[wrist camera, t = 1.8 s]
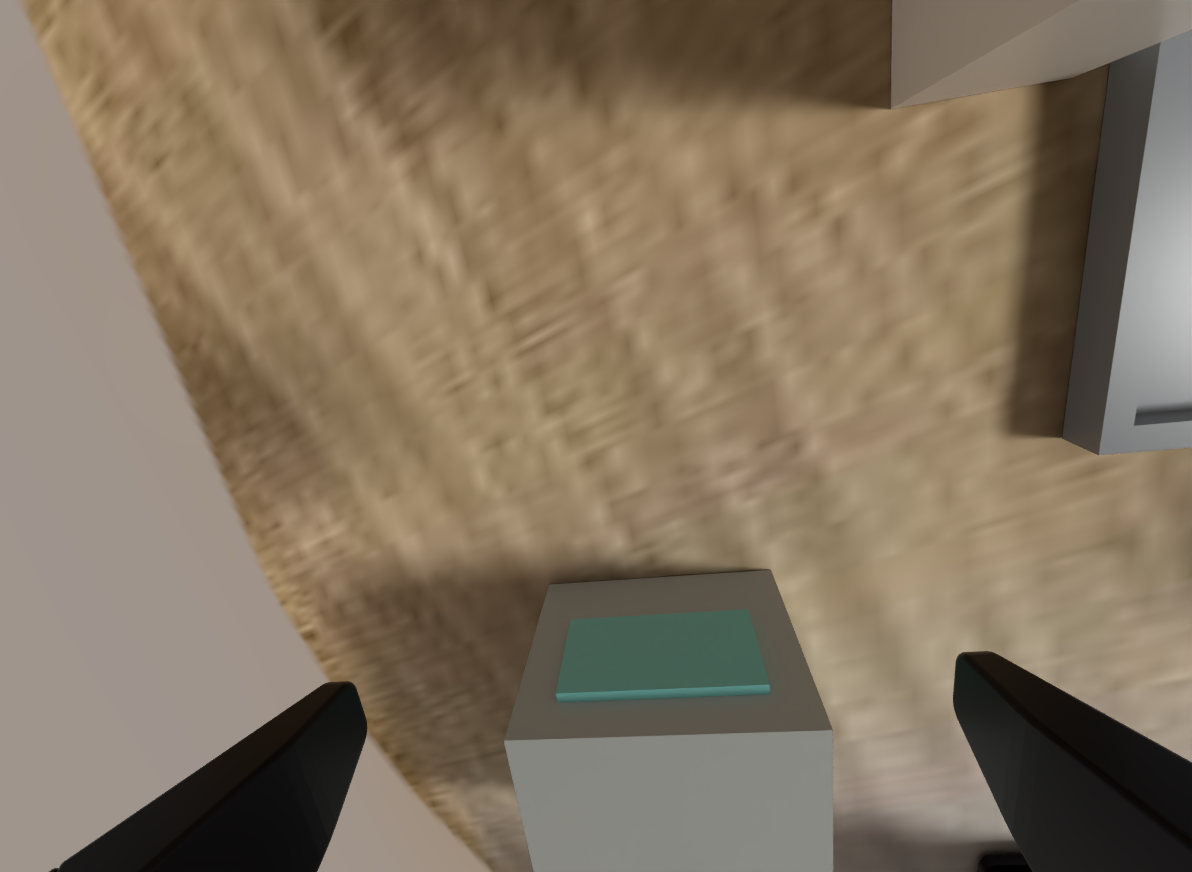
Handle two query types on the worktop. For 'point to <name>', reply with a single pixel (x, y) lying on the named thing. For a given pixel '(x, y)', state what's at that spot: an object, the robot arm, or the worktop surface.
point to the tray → (1138, 264)
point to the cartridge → (1017, 42)
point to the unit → (671, 731)
